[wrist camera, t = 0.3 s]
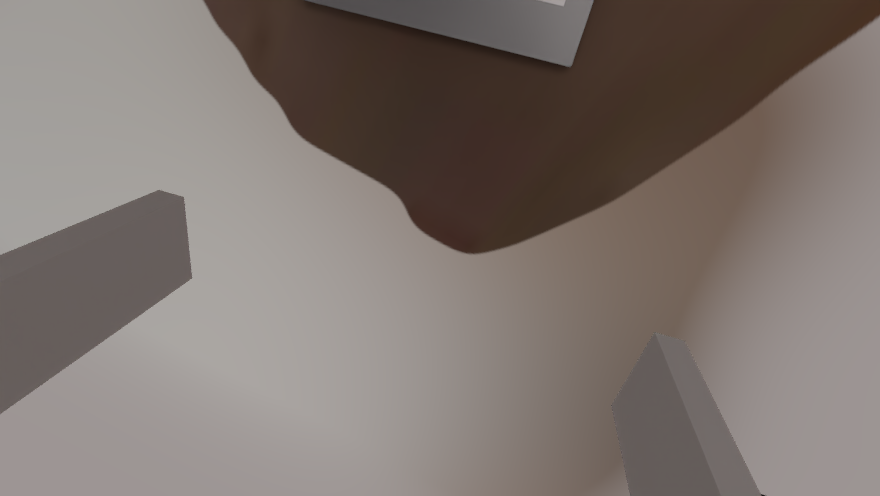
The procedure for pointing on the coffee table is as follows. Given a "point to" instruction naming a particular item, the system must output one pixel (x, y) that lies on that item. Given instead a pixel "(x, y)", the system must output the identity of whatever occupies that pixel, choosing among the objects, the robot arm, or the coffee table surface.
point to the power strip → (489, 22)
